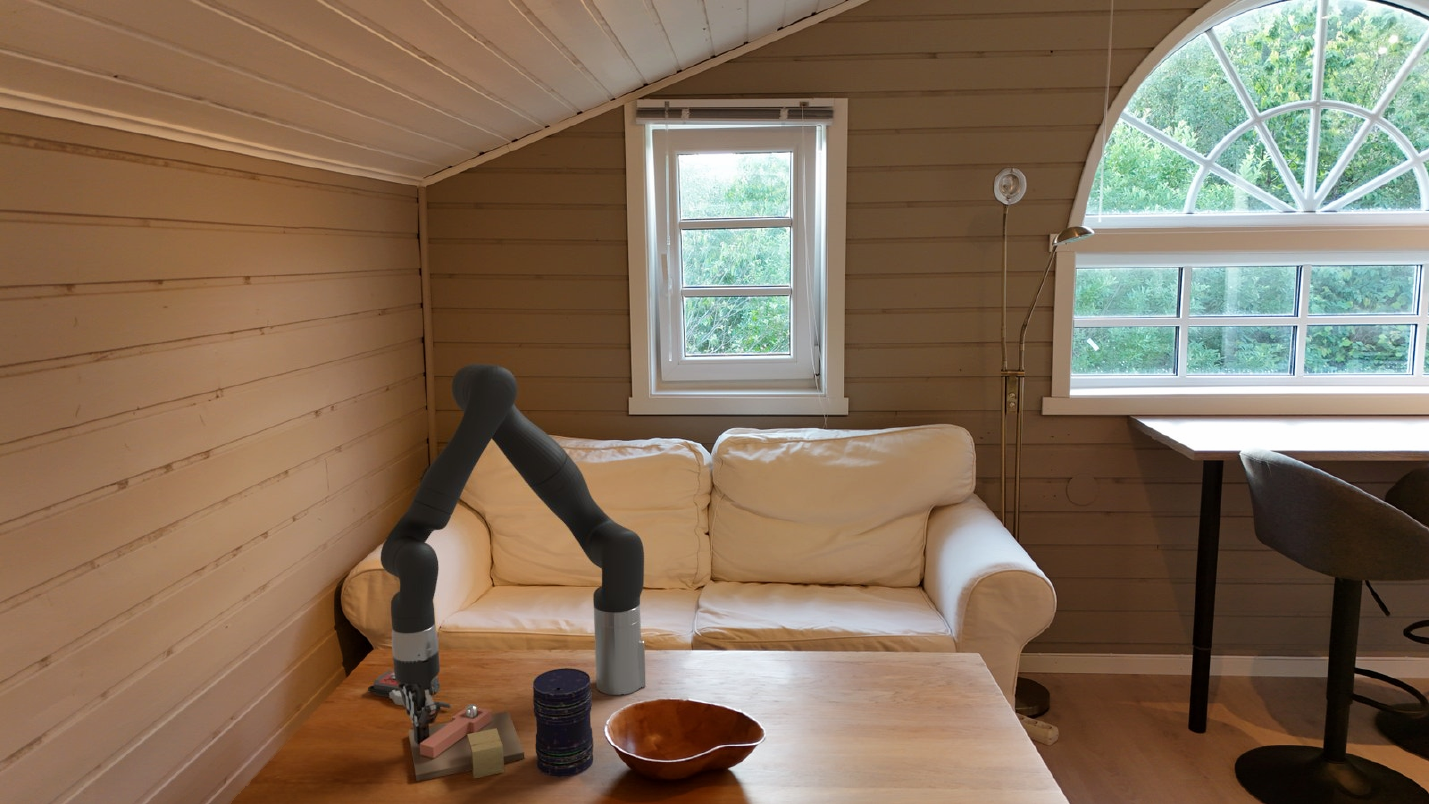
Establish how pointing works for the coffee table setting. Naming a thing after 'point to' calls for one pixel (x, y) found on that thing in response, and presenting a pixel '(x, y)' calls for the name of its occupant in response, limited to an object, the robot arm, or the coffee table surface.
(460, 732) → the link
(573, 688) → the storage jar
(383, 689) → the walkie-talkie
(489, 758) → the block
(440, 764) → the board
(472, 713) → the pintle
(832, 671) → the coffee table surface
